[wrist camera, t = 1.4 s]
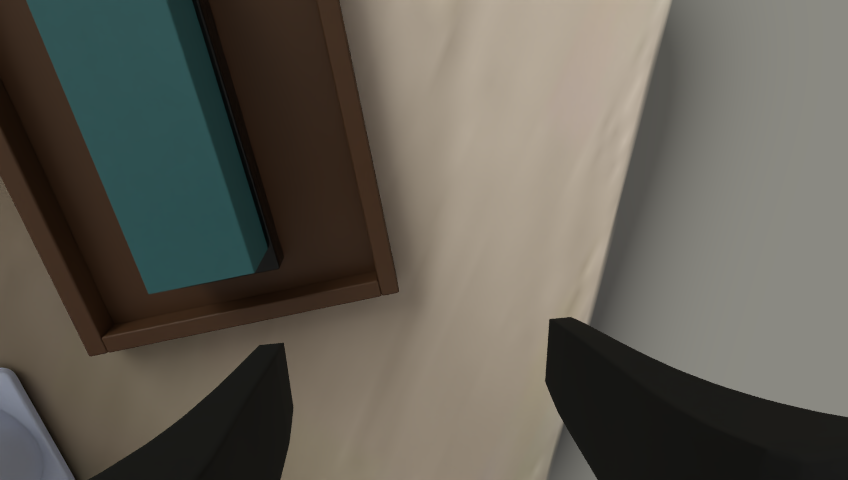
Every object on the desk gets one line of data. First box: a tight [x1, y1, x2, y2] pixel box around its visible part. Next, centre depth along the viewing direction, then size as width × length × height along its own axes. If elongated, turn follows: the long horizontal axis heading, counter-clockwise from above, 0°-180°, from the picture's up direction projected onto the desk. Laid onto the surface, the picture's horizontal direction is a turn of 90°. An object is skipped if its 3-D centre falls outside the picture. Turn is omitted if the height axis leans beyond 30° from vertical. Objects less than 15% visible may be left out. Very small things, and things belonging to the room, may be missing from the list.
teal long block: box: [26, 0, 284, 294], centre depth 17 cm, size 14×4×4 cm, turn 10°
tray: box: [0, 0, 399, 356], centre depth 18 cm, size 14×19×2 cm
